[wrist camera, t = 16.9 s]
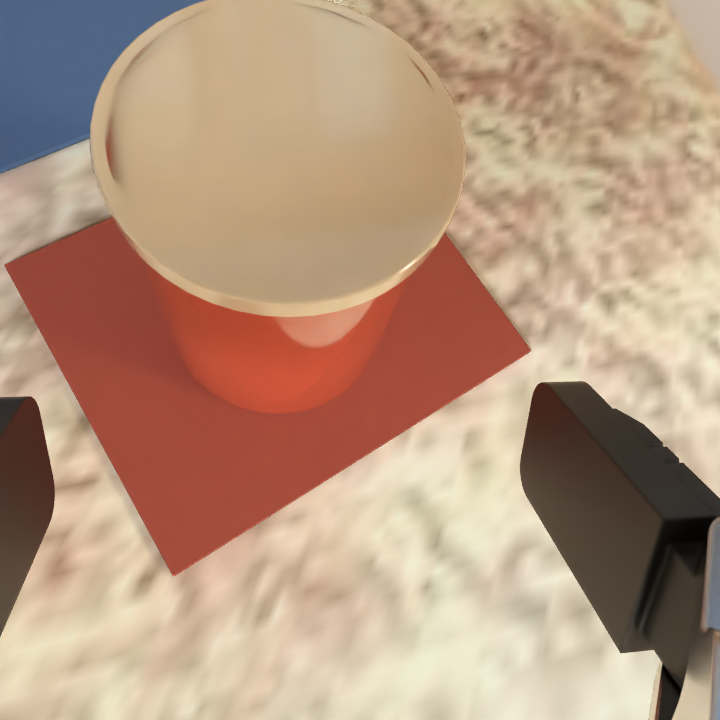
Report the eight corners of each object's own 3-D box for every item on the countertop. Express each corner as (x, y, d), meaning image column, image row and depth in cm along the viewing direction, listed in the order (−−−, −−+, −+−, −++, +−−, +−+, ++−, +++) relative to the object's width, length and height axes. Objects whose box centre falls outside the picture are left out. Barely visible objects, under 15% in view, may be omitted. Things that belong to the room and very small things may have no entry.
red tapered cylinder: (235, 465, 17) (209, 377, 10) (121, 272, 18) (21, 62, 11) (430, 349, 19) (537, 199, 11) (314, 182, 20) (342, -50, 13)
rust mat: (174, 576, 16) (173, 576, 16) (6, 267, 18) (4, 264, 18) (528, 352, 20) (531, 350, 19) (354, 114, 22) (355, 110, 21)
